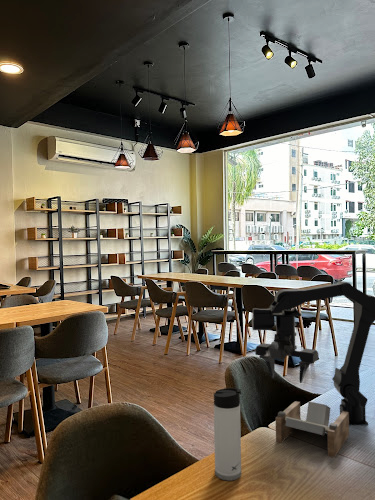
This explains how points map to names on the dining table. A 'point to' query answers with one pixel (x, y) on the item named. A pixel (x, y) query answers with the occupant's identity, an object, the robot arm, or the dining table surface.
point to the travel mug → (227, 434)
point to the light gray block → (318, 413)
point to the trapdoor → (306, 426)
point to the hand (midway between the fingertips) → (286, 380)
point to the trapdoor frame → (335, 432)
